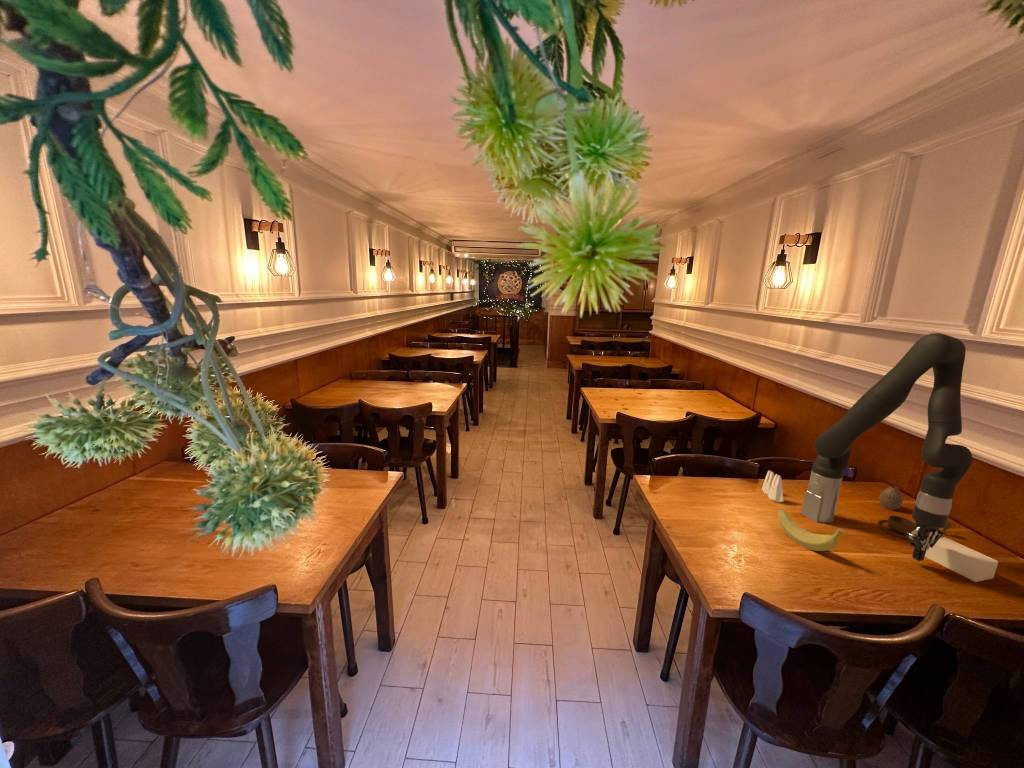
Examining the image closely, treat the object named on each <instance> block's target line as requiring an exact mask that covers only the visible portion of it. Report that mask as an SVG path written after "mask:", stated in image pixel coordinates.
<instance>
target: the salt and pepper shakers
mask: <svg viewBox="0 0 1024 768" xmlns="http://www.w3.org/2000/svg"><path fill="white" fill-rule="evenodd" d="M766 473H767V474H766V476H765V478H764V482H763V484H762V487H761V491H762V490H763V491H762V493H763V492H764V493H763V494H765V493H766V494H765V495H767V494H768V495H767V497H768V499H769V500H770V501H772V502H774V503H783V502H784V500H785V499H784V490H783V489H784V488H783V486H784V485H783V480H782V476H781V475H779V474H777V473H776V474H775V473H774V472H773V471H771V470H768V471H767V472H766Z"/></svg>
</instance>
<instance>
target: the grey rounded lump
mask: <svg viewBox="0 0 1024 768" xmlns="http://www.w3.org/2000/svg"><path fill="white" fill-rule="evenodd" d="M878 500H879V503H880V505H881V507H883V508H884V509H887V510H890V511H896V510H898V509H901V506H903V502H904V498H903V495H902V494H901V491H900V489H899V487H898V486H897V487H896V486H894V485H890V486H888V488H886V489H884V490H883V491H881V493H880V495H879V499H878Z"/></svg>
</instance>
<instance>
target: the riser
mask: <svg viewBox="0 0 1024 768" xmlns="http://www.w3.org/2000/svg"><path fill="white" fill-rule="evenodd" d="M924 558H927V559H929V560H931V561H933V562H935V563H937V564H939V565H941V566H943V567H945V568H947V569H949V570H951V571H953V572H955V573H956V574H958V575H961V576H963V577H964V578H967V579H968V580H971V581H972V582H974V583H977V582H982V581H987V580H992V579H994V578H995V573H996V571H997V568H998V564H999V561H998V560H996V559H995V558H992V557H990V556H987V555H985V554H984V553H981V552H979V551H977V550H974V549H972V548H970V547H968V546H966V545H963V544H960V543H958V542H957V541H955V540H953V539H950V538H948V537H946V536H945V537H943V536H942V537H941V538H940V539H939V540H938V541H937V543H936V544H935V545H934V546H933V547H932V548H931V547H929V549H928V550H926V554H925V557H924Z"/></svg>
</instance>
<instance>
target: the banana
mask: <svg viewBox="0 0 1024 768" xmlns="http://www.w3.org/2000/svg"><path fill="white" fill-rule="evenodd" d="M777 519H778V523H779V525H780V526H781V529H782V530H783V532H784V533H785V534H786V535H787V537H788V538H789V539H790V540H792V541H794V542H795V543H796V544H798V545H800V546H802V547H804V548H806V549H807V550H811V551H816V552H824V551H830V550H833V549H835V548H836V547H837V546H838V544H839V543H838V539H839V537H840V536H841V535H842V534H844V533H845V530H844V529H842V528H839V527H838V528H837V529H836V531H835V533H833V534H820V533H818V534H817V533H813V532H810V531H809V530H806V529H804V527H802V526H800V525H799V524H798V523H797V521H795V520H794V519H793V517H791V515H790V514H789V513H788V512H787V511H786V510H785V509H784V508H783V507H782V508H781V507H780V508H778V510H777Z"/></svg>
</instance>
